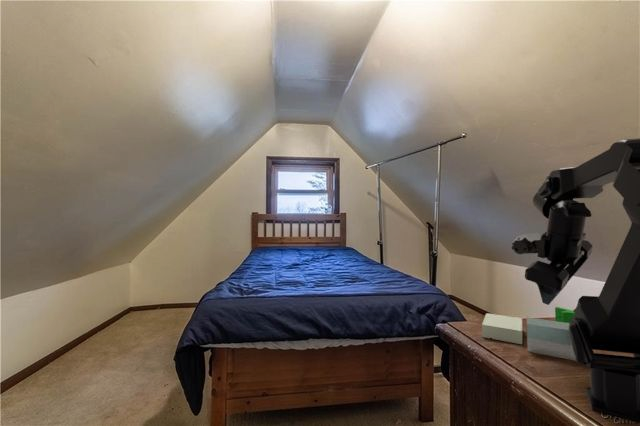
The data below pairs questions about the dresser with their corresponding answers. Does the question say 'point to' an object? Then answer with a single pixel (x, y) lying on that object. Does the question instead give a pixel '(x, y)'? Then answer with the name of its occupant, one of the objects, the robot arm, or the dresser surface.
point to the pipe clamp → (563, 315)
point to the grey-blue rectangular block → (549, 338)
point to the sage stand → (502, 328)
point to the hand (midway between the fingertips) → (554, 293)
